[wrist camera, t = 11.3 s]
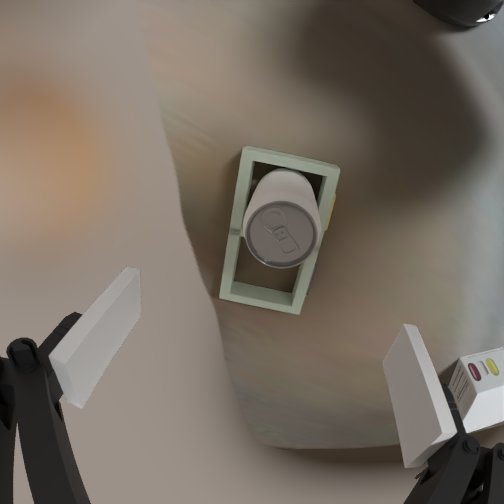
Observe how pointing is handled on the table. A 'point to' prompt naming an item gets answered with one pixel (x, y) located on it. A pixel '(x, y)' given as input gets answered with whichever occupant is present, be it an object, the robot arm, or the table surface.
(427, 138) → the table surface
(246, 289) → the socket board
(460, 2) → the robot arm
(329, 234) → the table surface
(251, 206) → the can
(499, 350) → the supplement box
